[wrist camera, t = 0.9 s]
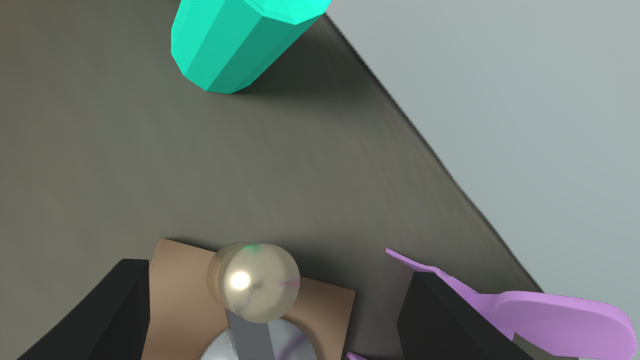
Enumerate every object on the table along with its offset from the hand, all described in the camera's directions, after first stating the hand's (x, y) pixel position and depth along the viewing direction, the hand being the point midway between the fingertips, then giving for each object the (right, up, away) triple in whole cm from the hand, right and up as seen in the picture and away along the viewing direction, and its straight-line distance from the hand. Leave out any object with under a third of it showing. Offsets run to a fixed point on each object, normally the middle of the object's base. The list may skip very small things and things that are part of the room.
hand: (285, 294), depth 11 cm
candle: (-6, +12, +16) cm, 20 cm away
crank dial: (-3, -6, +12) cm, 14 cm away
